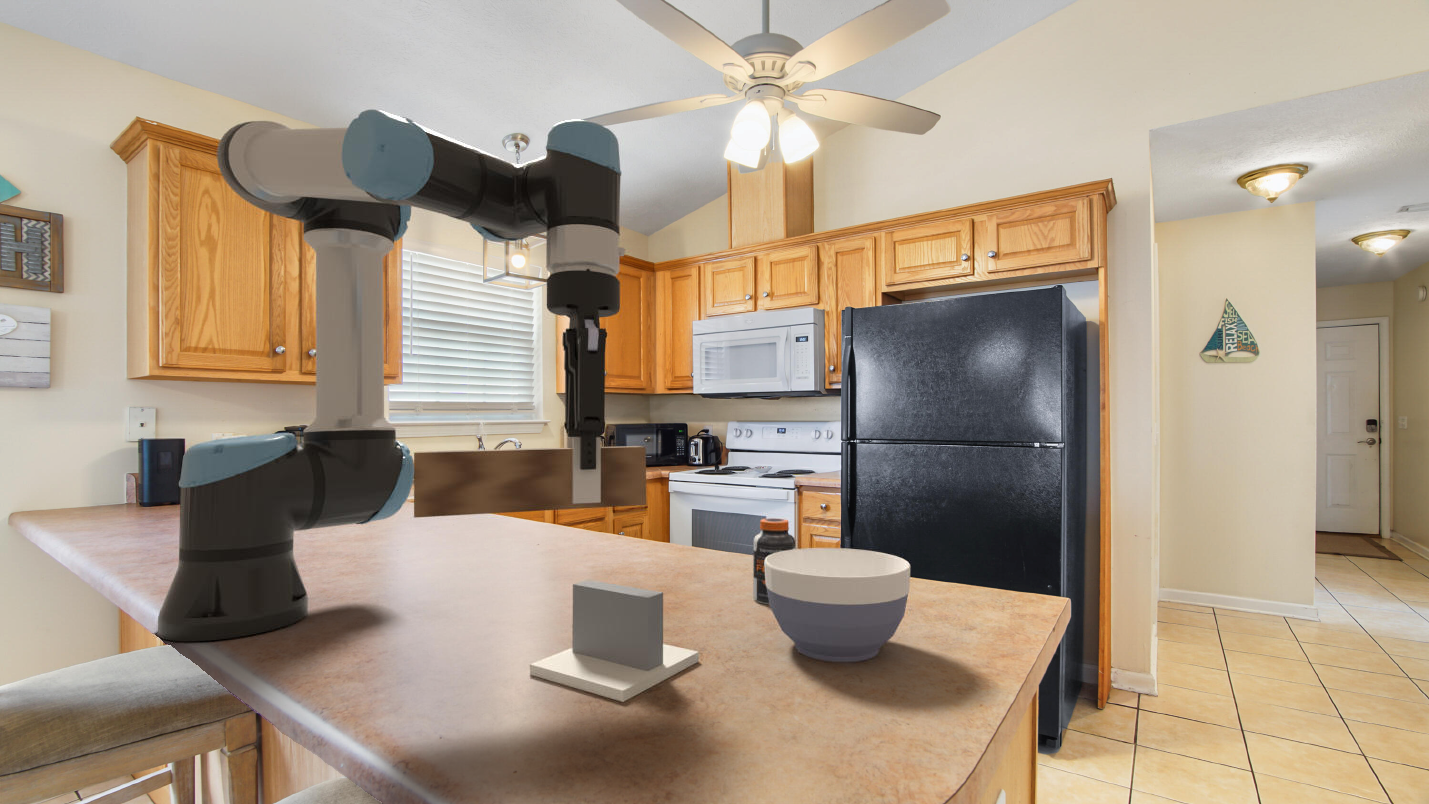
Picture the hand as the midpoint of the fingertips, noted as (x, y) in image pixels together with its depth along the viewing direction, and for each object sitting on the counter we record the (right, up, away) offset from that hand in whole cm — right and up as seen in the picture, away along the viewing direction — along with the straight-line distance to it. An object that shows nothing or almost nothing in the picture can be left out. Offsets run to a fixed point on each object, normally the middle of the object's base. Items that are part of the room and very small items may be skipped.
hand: (583, 499), depth 68 cm
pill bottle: (+22, -18, +25) cm, 38 cm away
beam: (-5, -1, -2) cm, 5 cm away
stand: (+4, -17, -1) cm, 17 cm away
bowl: (+27, -17, +5) cm, 32 cm away
